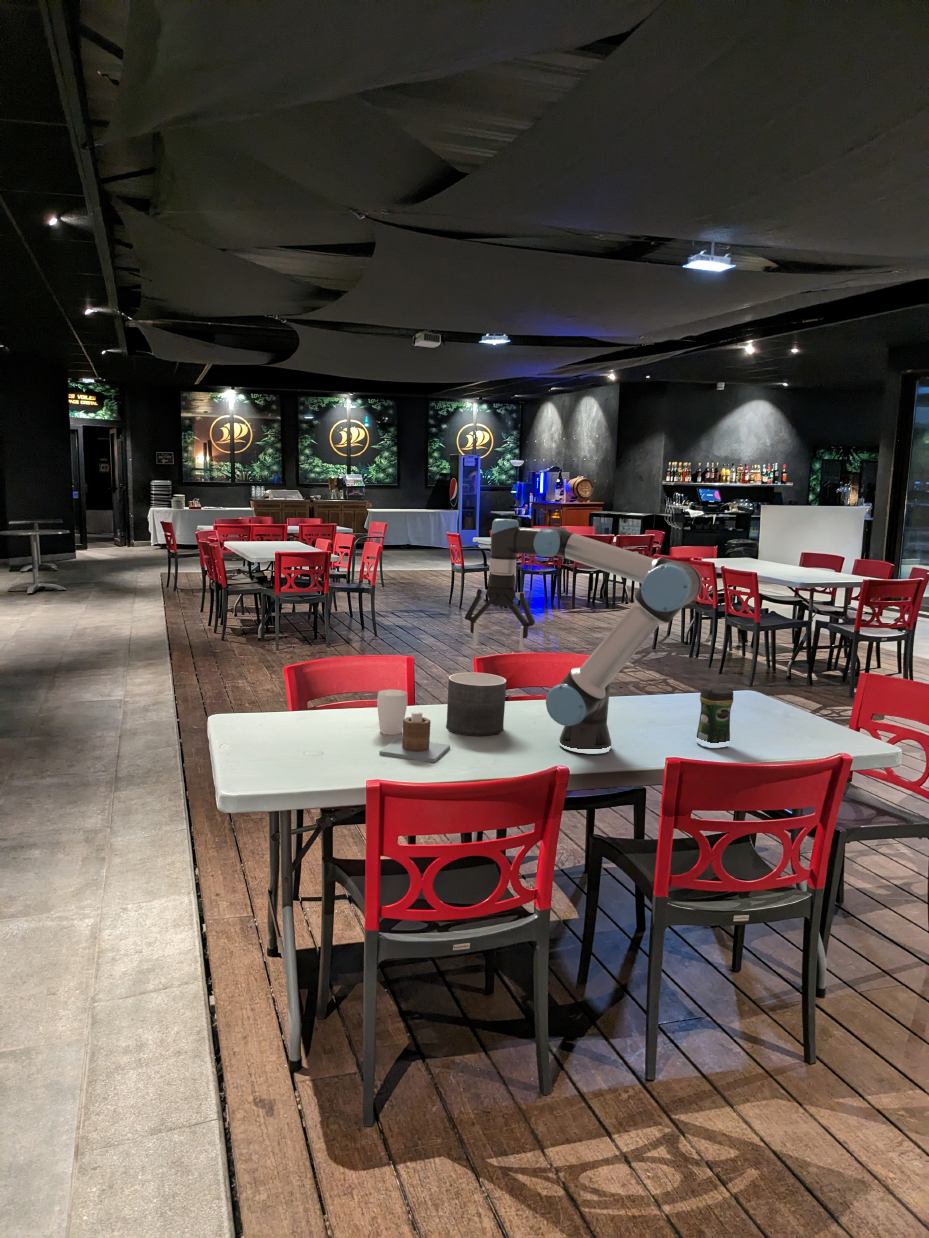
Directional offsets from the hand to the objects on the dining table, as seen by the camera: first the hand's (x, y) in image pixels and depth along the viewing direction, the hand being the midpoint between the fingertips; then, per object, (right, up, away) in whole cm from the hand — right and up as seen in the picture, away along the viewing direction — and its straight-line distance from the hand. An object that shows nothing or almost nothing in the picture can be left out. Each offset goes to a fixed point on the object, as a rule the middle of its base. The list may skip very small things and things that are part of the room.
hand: (498, 647), depth 246 cm
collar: (-23, -28, -7) cm, 37 cm away
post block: (-23, -29, -7) cm, 38 cm away
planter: (-7, -26, +19) cm, 33 cm away
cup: (-32, -26, +11) cm, 42 cm away
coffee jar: (+65, -31, +14) cm, 74 cm away
